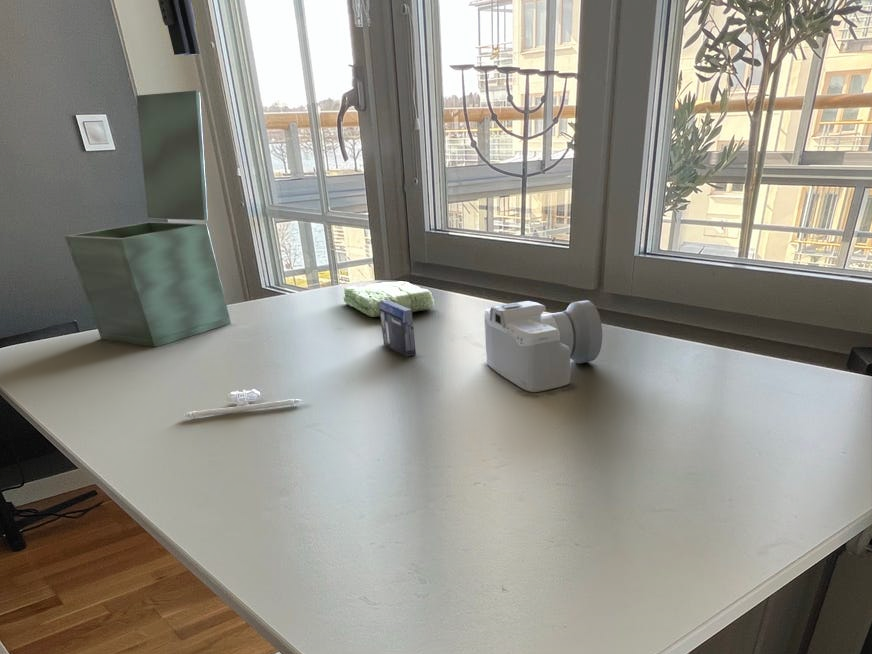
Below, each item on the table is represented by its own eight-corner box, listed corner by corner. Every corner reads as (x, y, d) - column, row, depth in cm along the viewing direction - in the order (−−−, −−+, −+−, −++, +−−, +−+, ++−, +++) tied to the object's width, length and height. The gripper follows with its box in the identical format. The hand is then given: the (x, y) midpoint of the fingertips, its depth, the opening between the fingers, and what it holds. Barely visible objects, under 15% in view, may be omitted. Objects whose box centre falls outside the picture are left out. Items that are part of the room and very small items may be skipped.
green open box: (155, 347, 110) (120, 239, 101) (100, 338, 116) (64, 236, 107) (231, 323, 121) (206, 223, 112) (178, 316, 127) (150, 221, 118)
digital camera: (612, 411, 89) (628, 335, 81) (505, 420, 87) (511, 342, 79) (575, 347, 99) (586, 274, 92) (478, 353, 97) (482, 279, 89)
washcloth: (406, 292, 134) (404, 274, 132) (439, 310, 121) (437, 290, 119) (340, 302, 130) (337, 283, 128) (367, 321, 117) (364, 301, 115)
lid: (195, 90, 104) (199, 91, 105) (135, 95, 110) (140, 96, 111) (203, 220, 111) (207, 220, 112) (147, 217, 117) (151, 218, 118)
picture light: (184, 419, 83) (178, 402, 81) (187, 408, 86) (181, 390, 85) (302, 404, 85) (299, 387, 84) (301, 393, 88) (297, 377, 87)
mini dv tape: (383, 344, 105) (378, 301, 102) (392, 342, 106) (388, 299, 102) (406, 356, 100) (401, 311, 96) (415, 354, 100) (411, 309, 97)
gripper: (105, -194, 87) (165, 51, 102) (194, -168, 97) (238, 53, 111) (69, -180, 91) (132, 55, 105) (159, -156, 100) (206, 57, 114)
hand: (187, 54), depth 108 cm, fingers closed
